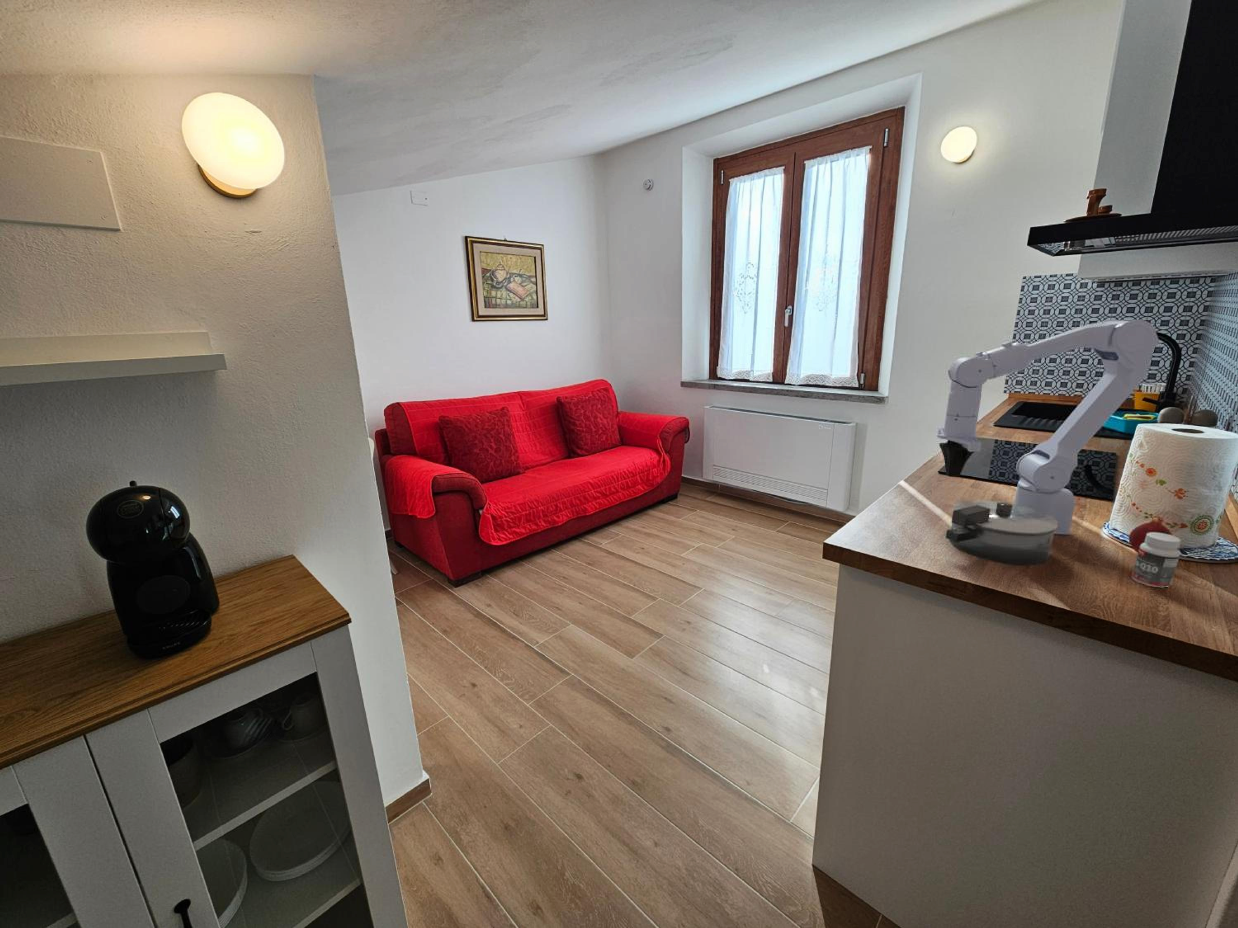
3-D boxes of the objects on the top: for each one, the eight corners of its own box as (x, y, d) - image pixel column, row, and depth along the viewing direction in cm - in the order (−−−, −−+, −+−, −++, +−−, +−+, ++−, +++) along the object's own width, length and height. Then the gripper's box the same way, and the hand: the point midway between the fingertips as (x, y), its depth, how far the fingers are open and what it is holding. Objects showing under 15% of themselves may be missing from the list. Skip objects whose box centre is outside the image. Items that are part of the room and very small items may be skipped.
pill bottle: (1123, 576, 91) (1134, 531, 88) (1148, 574, 91) (1160, 530, 89) (1152, 589, 86) (1165, 543, 84) (1178, 588, 86) (1192, 541, 84)
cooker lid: (987, 499, 112) (989, 484, 111) (1077, 525, 97) (1081, 508, 96) (916, 514, 104) (918, 499, 103) (1003, 545, 89) (1006, 528, 89)
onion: (1177, 566, 94) (1189, 525, 91) (1139, 564, 95) (1150, 523, 93) (1152, 553, 99) (1163, 513, 97) (1117, 551, 100) (1126, 512, 98)
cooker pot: (986, 526, 113) (991, 500, 111) (1069, 556, 98) (1075, 526, 97) (912, 541, 106) (916, 514, 105) (989, 575, 92) (995, 544, 90)
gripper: (927, 409, 118) (919, 466, 122) (958, 421, 104) (948, 485, 108) (960, 409, 117) (951, 467, 121) (996, 421, 104) (985, 486, 107)
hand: (952, 476), depth 114 cm, fingers closed
